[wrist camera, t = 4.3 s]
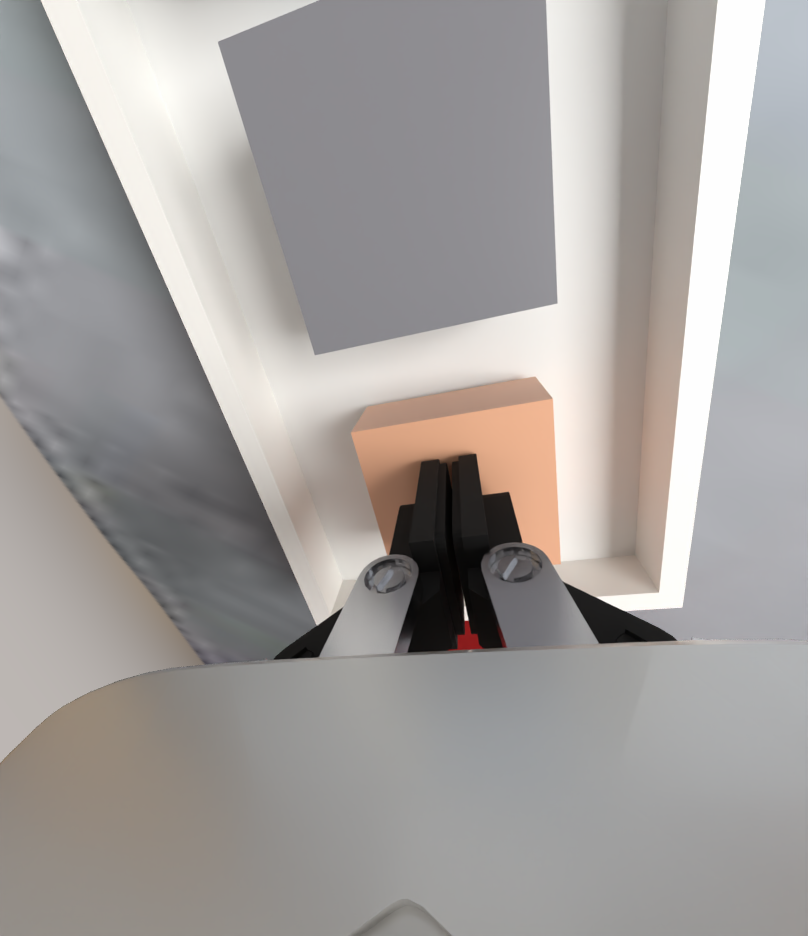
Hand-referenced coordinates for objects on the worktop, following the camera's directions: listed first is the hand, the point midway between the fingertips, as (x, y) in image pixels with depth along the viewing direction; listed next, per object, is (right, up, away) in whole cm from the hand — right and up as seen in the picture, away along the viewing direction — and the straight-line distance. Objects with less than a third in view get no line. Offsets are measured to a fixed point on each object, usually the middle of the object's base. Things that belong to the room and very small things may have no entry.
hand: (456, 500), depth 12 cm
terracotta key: (0, +1, +2) cm, 2 cm away
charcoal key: (-1, +8, -2) cm, 8 cm away
